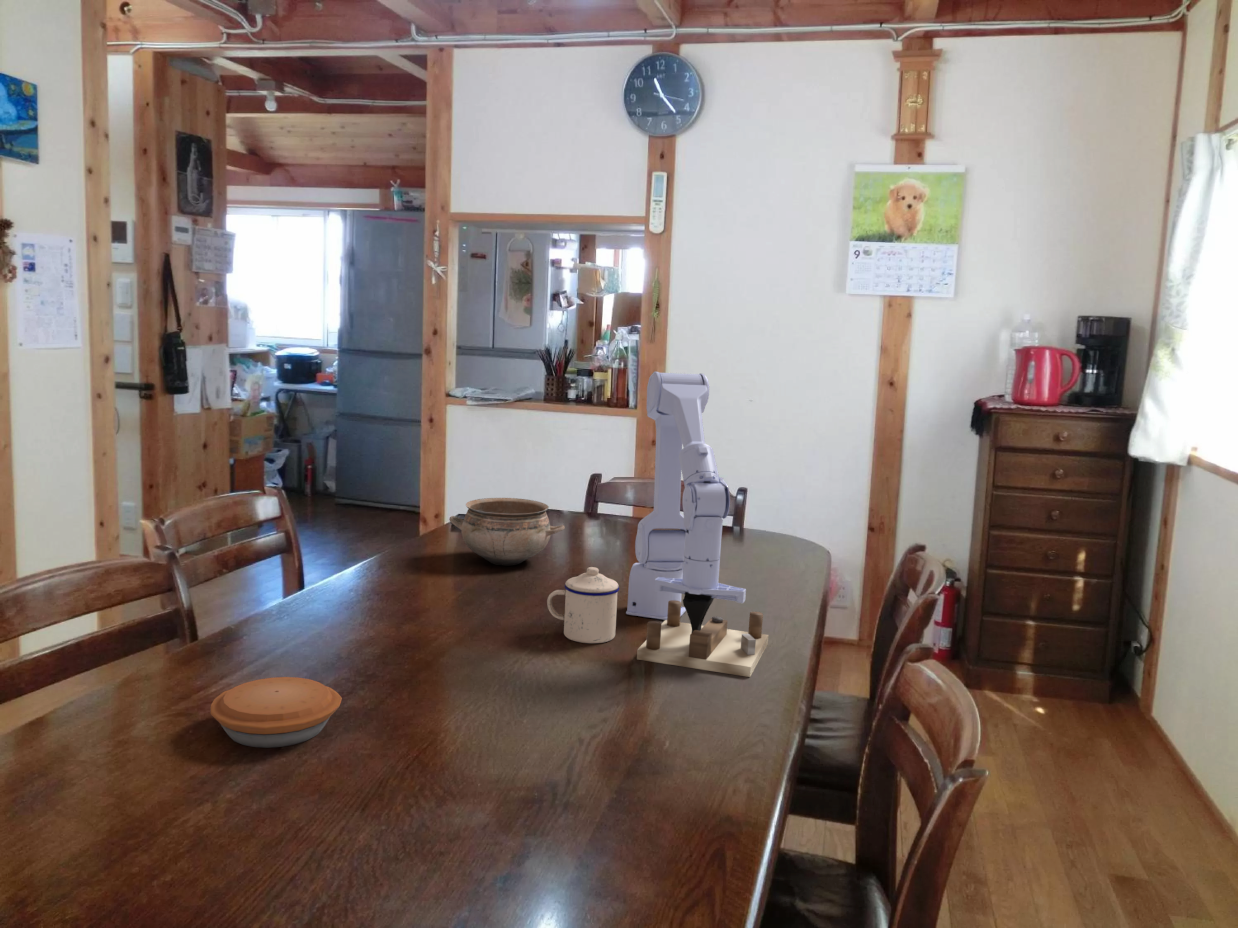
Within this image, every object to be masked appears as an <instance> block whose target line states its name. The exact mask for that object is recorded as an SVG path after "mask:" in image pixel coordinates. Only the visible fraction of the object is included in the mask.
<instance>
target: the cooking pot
mask: <svg viewBox="0 0 1238 928" xmlns="http://www.w3.org/2000/svg"><path fill="white" fill-rule="evenodd" d="M465 506H466V508H467V511H466V513H465V516H464V518H460V517H458V516H455V515H451V516H450V517H449V522H450V523H451V524H452V525H453V526H455V527H457V528H458V529H459V530H460V531H461V536H462V540H463V542H464V544H465V545H466V547H467V548H468V549H470V550H471V551H472V552H473V553H474V554H477V555H478V556H480V557H481V558H482V559H484V560H486V561H487V562H489V563H490V564H492V565H496V566H516V565H520V564H521V563H523V562H525V561H527V560H529V559H531V558H533V557H534V556H536V555H537V554H539V553H540V552H542V551H543V550H544V549H545V548H546V547H547V545H548V543H549V541H550V539H551V536H552V535H554V534H558V533H560V532H562V531H563V530H565V528H566V527H565V525H564V524H561V525H557V526H553V525H551V523H550V519H549V517H548V514H547V511H548V510H549V507H550V506H549V505H548V504H546V503H544V502H541V501H538V500H533V499H526V498H515V497H486V498H477V499H473V500H470V501H468V502H466V503H465Z"/></svg>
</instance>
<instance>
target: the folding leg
mask: <svg viewBox="0 0 1238 928" xmlns="http://www.w3.org/2000/svg"><path fill="white" fill-rule="evenodd" d="M703 626H704V627H703V628H702V629H701V630H700V631H698V630H694V631H693V632H692V633H691V635H690V644H689V657H694V658H700V659H707V658H708V657H709V655H710V654H711V653H712V652H713V651H714V649H715V648H716V647H717V646H718V644H719V643H720V642H721V641H722V639H723V638H724V637H725V636H726V634H727V629H728V620H725V619H724V618H723V617H721V616H718V615H717V616H712V617H711V618H710V619H709V620H708V621H707V622H706V623H705V624H704V625H703Z"/></svg>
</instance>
